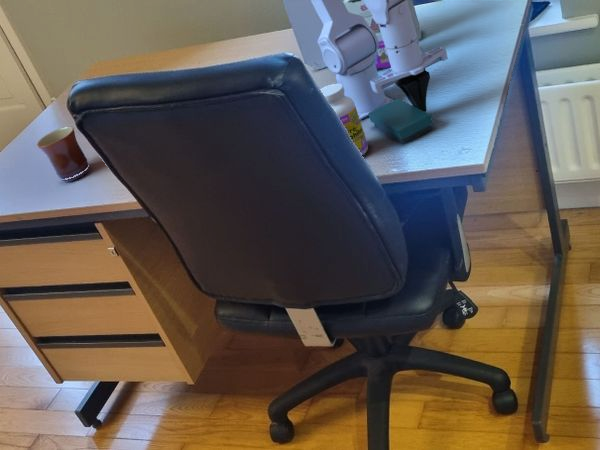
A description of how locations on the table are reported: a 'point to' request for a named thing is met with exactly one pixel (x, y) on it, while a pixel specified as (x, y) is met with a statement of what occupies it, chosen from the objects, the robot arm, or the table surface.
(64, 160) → the mug
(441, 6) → the table surface
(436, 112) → the table surface
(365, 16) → the candy bar box
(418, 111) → the teal flat panel
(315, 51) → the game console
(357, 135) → the supplement bottle
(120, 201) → the table surface
